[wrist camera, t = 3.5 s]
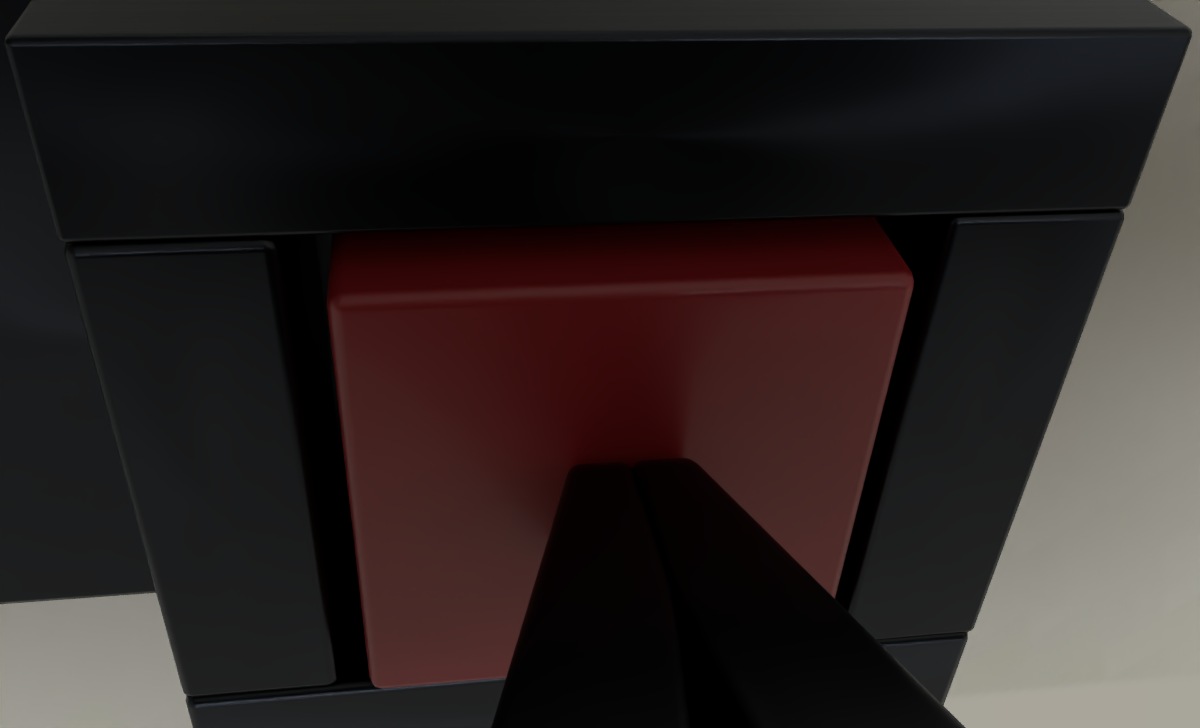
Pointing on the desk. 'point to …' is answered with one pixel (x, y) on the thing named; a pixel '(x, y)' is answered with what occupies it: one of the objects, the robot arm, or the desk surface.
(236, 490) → the black button base
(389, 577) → the red button
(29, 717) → the desk surface
